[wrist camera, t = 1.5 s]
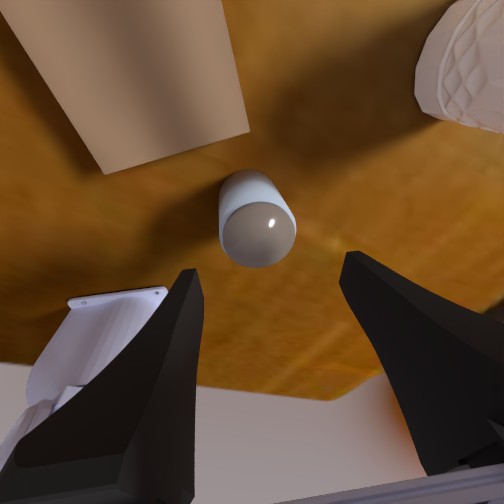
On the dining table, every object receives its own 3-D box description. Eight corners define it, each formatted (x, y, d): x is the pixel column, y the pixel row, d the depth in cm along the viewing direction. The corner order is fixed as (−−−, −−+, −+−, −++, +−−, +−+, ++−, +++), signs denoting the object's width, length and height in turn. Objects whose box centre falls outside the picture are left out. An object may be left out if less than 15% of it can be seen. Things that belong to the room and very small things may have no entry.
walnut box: (122, 162, 16) (104, 174, 13) (11, -32, 10) (-52, -70, 8) (245, 125, 15) (250, 131, 13) (194, -95, 10) (186, -154, 8)
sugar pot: (223, 227, 20) (225, 274, 15) (214, 172, 17) (212, 206, 12) (276, 221, 20) (296, 264, 15) (276, 166, 17) (300, 196, 12)
